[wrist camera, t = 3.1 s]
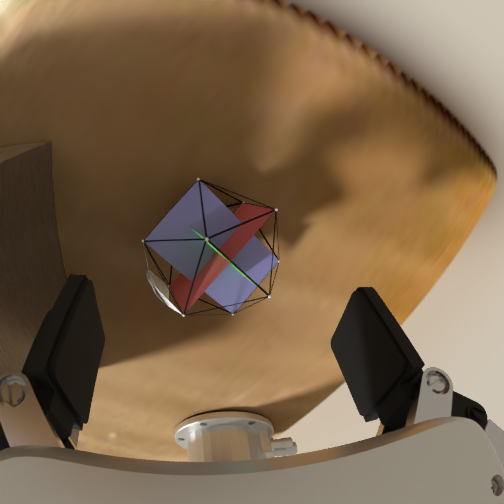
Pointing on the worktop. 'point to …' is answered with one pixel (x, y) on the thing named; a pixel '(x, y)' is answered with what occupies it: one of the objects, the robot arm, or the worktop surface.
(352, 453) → the robot arm
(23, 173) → the bin
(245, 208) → the geometric puzzle
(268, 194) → the worktop surface
